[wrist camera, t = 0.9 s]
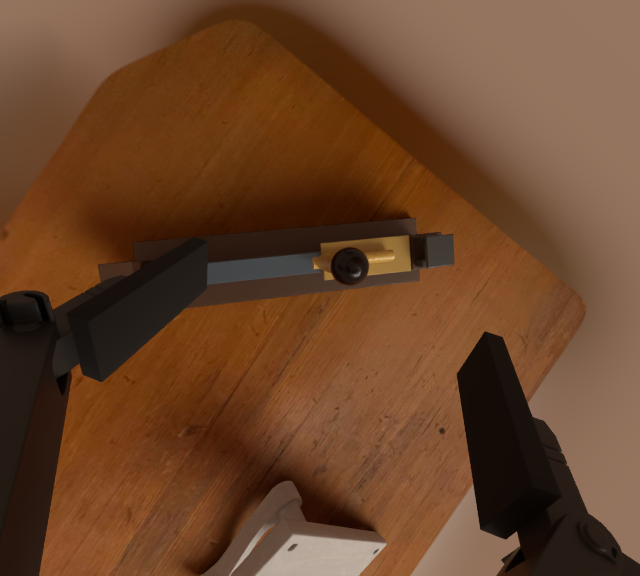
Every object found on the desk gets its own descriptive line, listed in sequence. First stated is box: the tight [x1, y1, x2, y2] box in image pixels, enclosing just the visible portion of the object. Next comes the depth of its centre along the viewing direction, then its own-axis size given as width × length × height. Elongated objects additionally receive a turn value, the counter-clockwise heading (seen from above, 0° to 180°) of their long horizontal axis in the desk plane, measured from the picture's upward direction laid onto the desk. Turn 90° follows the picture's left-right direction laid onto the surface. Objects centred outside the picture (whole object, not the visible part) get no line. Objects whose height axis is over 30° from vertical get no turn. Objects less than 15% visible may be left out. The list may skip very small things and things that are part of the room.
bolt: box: [312, 247, 395, 286], centre depth 23 cm, size 7×2×10 cm, turn 96°
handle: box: [200, 481, 387, 576], centre depth 35 cm, size 18×8×20 cm
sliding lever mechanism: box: [98, 218, 454, 308], centre depth 30 cm, size 29×7×9 cm, turn 96°
